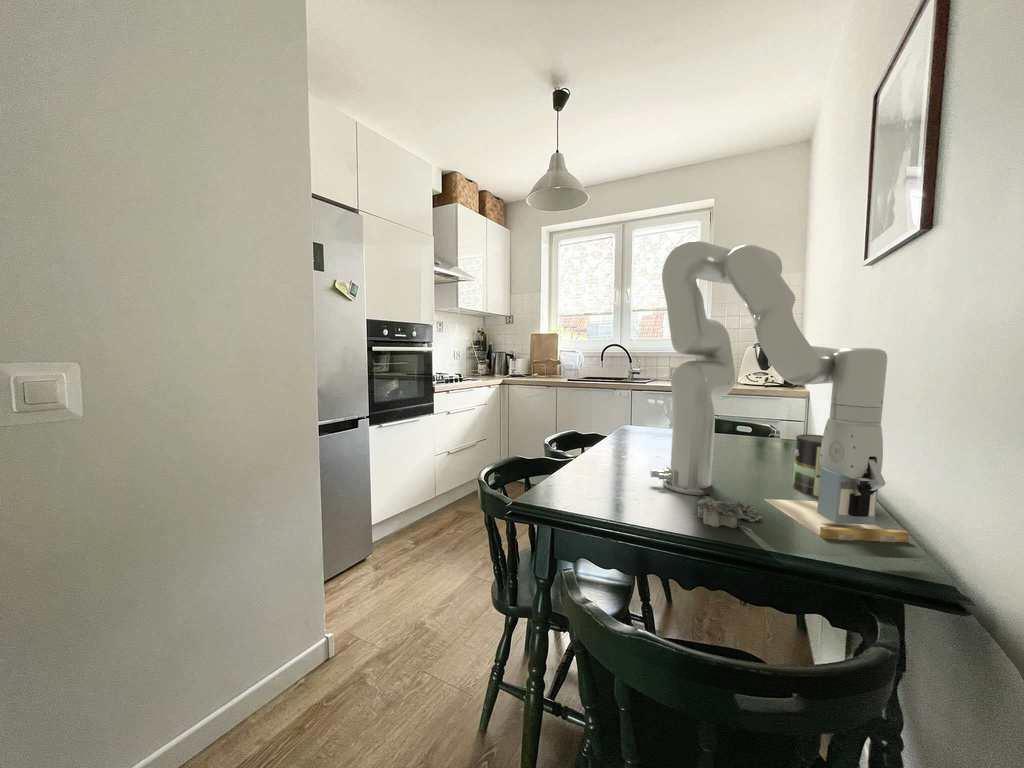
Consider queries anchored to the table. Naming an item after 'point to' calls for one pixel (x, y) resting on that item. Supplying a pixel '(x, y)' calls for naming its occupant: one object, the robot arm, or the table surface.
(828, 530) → the shelf
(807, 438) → the coffee can
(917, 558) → the table surface
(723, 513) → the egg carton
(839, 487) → the carton
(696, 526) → the table surface
